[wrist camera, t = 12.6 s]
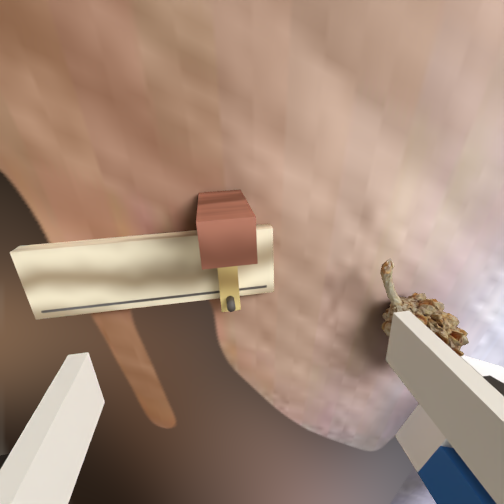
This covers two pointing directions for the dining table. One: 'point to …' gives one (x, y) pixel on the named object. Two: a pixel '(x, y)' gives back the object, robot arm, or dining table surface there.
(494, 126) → the dining table surface
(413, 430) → the toy block
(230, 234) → the block
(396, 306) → the pine cone
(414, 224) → the dining table surface
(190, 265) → the board
